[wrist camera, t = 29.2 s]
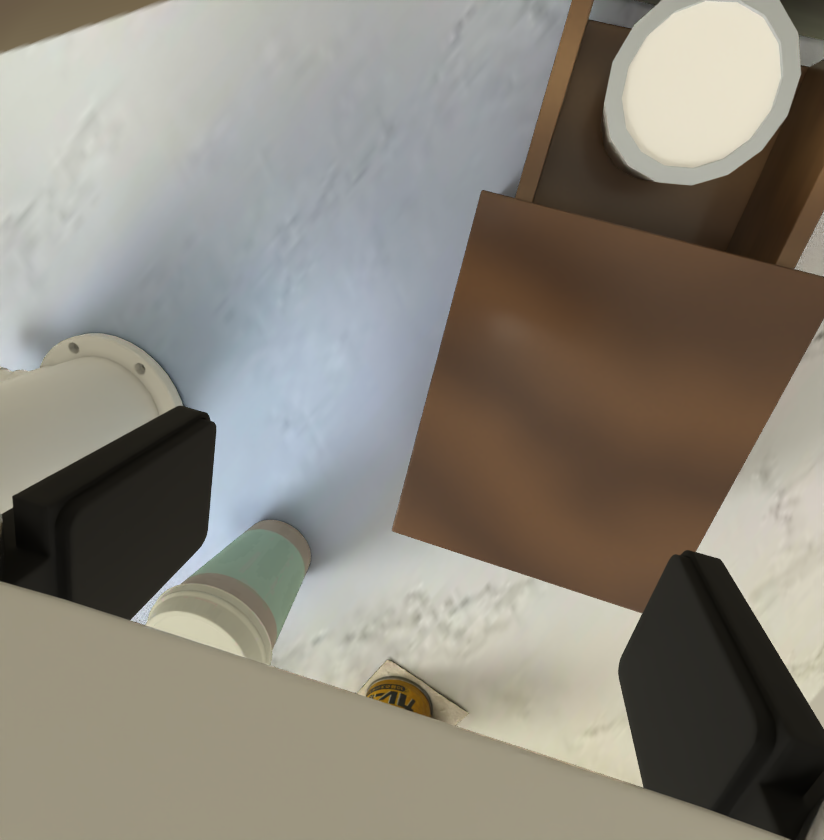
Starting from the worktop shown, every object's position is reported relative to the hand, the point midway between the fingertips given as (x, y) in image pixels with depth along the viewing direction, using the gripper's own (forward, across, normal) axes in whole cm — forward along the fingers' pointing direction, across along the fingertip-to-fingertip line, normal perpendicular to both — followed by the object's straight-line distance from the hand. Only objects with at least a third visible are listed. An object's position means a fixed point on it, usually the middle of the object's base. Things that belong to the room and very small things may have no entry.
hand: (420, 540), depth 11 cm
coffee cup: (+26, +12, +22) cm, 36 cm away
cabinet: (+25, -6, +2) cm, 26 cm away
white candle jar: (+23, -6, -12) cm, 27 cm away
